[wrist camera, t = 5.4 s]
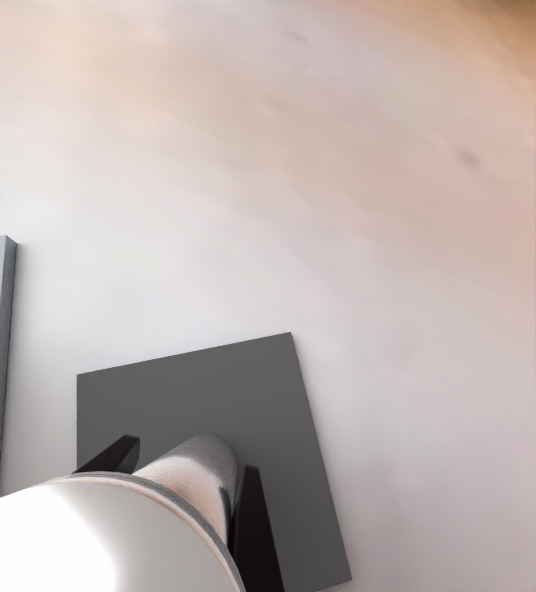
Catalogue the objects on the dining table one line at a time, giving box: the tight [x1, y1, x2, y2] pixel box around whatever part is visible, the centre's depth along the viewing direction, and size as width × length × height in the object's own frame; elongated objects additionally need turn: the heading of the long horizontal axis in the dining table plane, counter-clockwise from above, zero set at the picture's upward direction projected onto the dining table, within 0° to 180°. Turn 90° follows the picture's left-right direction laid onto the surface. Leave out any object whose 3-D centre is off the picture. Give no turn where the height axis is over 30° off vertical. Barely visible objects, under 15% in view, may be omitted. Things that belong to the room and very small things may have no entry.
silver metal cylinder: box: [0, 434, 246, 592], centre depth 8 cm, size 4×4×12 cm
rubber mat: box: [77, 332, 352, 592], centre depth 14 cm, size 11×11×1 cm
